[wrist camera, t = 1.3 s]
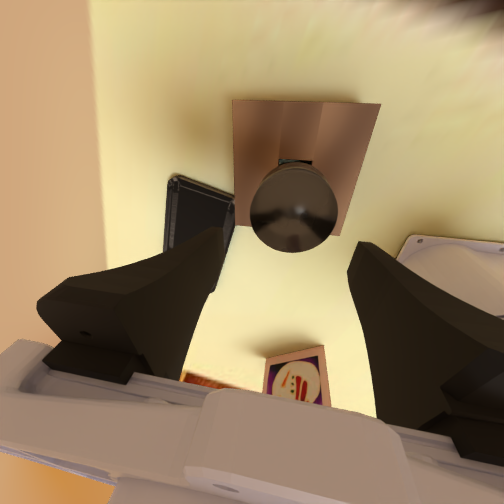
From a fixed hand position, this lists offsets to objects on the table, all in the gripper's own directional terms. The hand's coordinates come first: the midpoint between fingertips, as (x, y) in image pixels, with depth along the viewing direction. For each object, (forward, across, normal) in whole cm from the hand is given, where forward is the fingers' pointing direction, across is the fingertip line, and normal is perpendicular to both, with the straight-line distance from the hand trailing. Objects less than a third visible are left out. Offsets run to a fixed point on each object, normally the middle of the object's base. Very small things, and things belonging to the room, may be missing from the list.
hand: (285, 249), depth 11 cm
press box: (+10, 0, -2) cm, 11 cm away
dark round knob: (+7, 0, -2) cm, 7 cm away
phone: (+11, +10, +7) cm, 17 cm away
